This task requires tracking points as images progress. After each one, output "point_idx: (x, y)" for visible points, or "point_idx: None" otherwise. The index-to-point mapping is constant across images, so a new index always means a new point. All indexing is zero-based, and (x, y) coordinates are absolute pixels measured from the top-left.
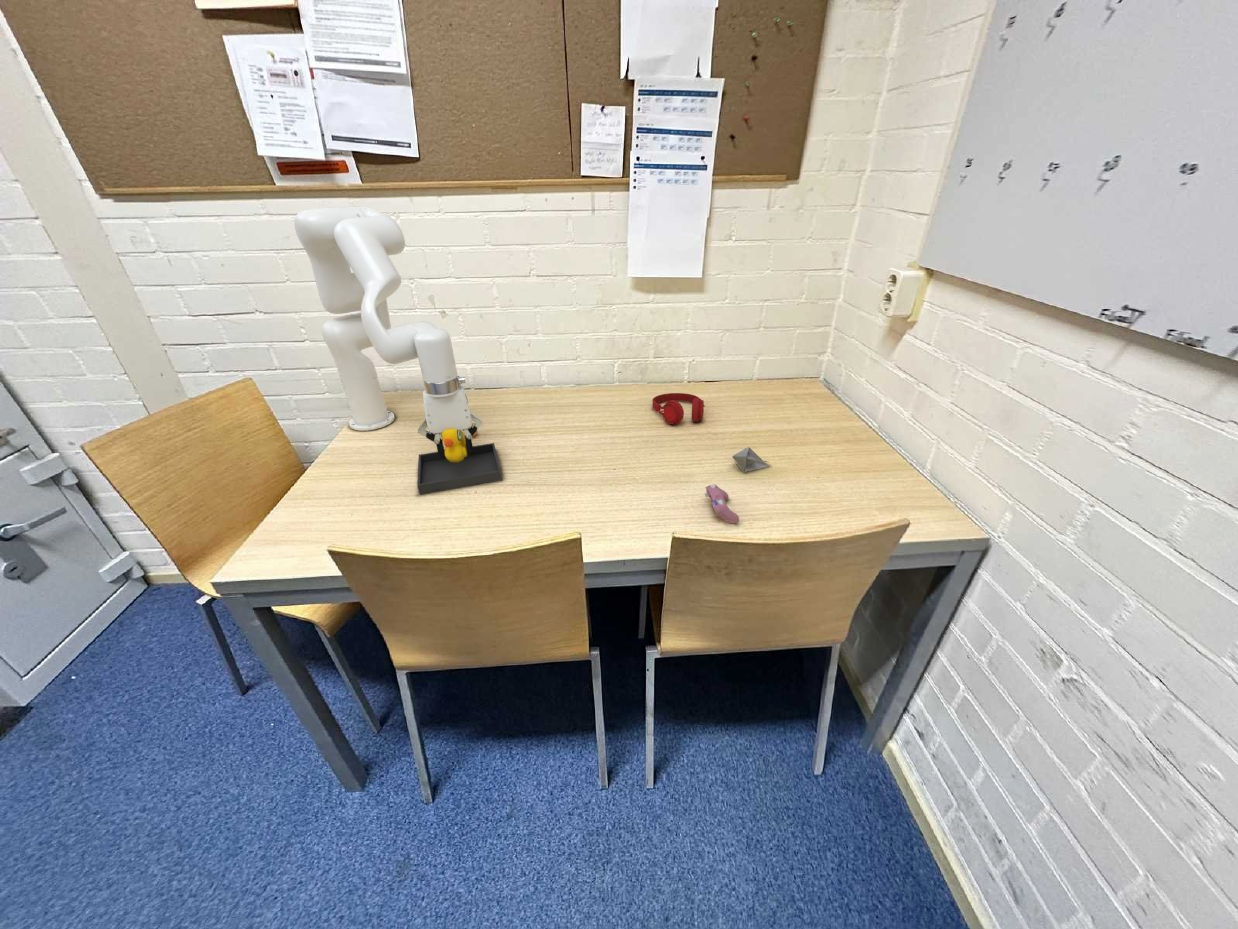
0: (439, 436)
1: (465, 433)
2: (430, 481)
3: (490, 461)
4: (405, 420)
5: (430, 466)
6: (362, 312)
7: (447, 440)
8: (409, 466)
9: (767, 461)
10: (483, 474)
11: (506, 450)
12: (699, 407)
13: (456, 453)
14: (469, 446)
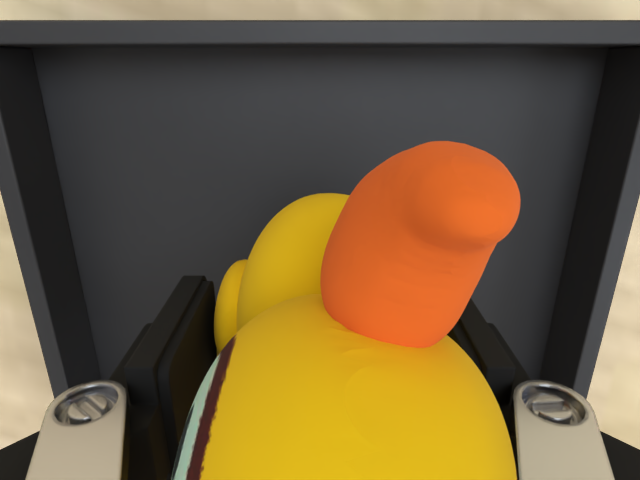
0: (534, 472)
1: (104, 459)
2: (527, 169)
3: (117, 297)
4: None
5: None
6: None
7: (444, 166)
8: (605, 399)
9: None
10: (113, 21)
11: (34, 402)
12: None
13: (310, 214)
14: (159, 315)
